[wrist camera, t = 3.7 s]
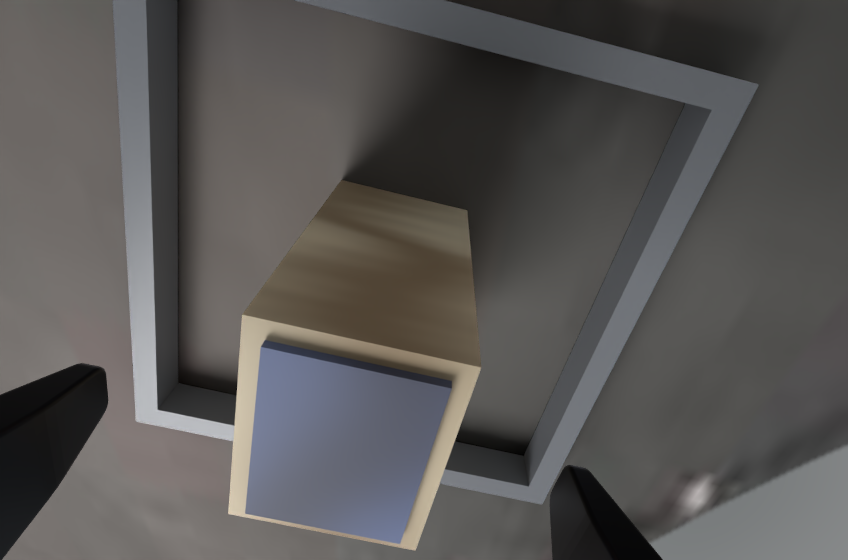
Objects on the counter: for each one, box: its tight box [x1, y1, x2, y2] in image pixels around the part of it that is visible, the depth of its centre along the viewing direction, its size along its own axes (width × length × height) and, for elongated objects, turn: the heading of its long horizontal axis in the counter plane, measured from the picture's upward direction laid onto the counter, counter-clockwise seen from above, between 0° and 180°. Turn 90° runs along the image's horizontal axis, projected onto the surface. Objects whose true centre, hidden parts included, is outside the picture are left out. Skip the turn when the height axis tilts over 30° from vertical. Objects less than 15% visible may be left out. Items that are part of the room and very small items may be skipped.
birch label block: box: [228, 180, 481, 550], centre depth 13 cm, size 4×5×8 cm
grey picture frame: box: [113, 0, 759, 504], centre depth 16 cm, size 16×16×2 cm
